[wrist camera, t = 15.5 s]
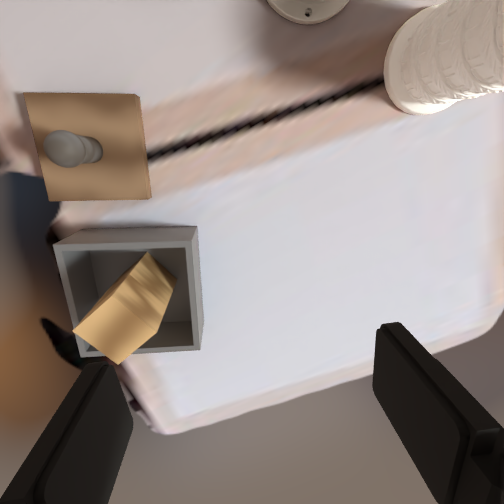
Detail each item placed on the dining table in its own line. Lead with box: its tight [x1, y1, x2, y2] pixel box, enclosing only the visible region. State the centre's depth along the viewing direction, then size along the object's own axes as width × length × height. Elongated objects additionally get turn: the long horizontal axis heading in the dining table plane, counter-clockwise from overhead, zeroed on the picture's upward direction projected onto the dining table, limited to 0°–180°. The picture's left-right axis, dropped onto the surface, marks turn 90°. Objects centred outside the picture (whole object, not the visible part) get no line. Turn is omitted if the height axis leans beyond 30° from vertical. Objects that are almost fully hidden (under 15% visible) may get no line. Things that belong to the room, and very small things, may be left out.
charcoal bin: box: [53, 226, 204, 357], centre depth 39 cm, size 16×16×7 cm
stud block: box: [23, 93, 152, 201], centre depth 31 cm, size 12×12×9 cm
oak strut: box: [73, 252, 177, 364], centre depth 35 cm, size 6×6×13 cm
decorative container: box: [383, 0, 504, 115], centre depth 27 cm, size 12×12×18 cm
